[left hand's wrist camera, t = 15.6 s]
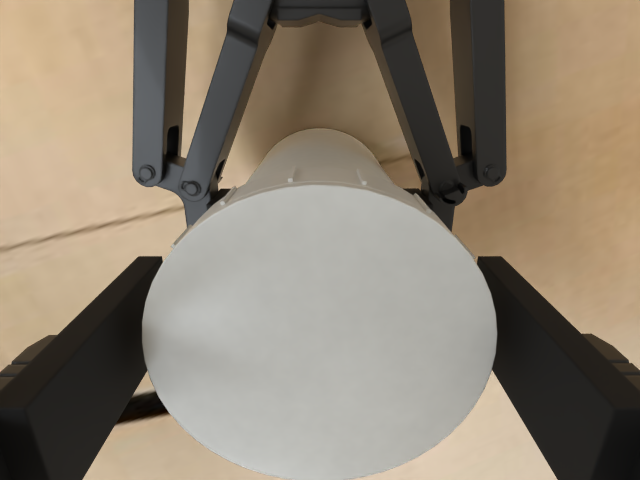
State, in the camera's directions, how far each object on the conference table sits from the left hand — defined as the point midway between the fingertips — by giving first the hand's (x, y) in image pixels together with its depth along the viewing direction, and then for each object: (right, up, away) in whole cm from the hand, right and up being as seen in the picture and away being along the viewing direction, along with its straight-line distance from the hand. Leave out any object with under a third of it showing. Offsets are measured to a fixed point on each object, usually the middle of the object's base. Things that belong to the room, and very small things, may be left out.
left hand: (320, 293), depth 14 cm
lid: (0, -1, -3) cm, 3 cm away
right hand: (0, -2, +7) cm, 7 cm away
